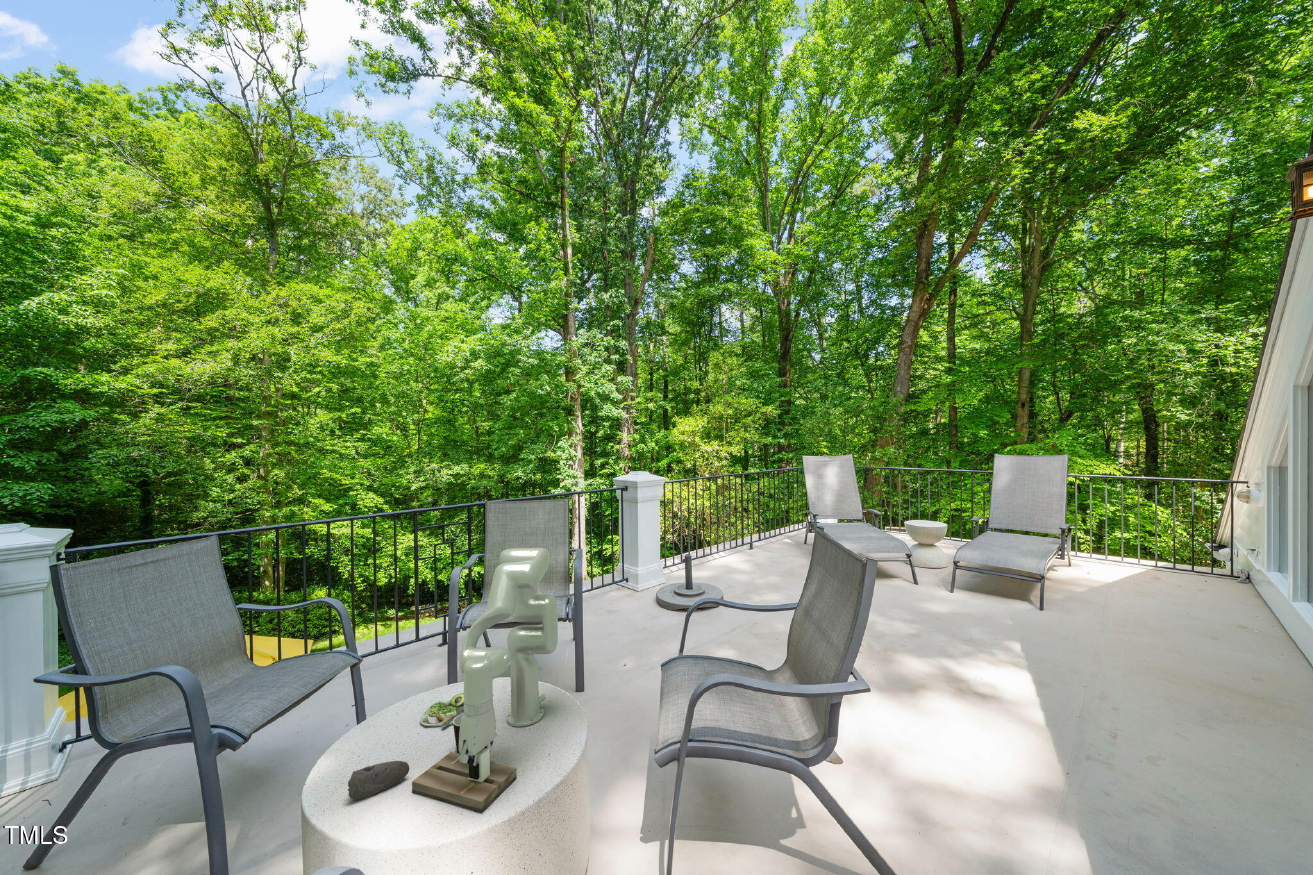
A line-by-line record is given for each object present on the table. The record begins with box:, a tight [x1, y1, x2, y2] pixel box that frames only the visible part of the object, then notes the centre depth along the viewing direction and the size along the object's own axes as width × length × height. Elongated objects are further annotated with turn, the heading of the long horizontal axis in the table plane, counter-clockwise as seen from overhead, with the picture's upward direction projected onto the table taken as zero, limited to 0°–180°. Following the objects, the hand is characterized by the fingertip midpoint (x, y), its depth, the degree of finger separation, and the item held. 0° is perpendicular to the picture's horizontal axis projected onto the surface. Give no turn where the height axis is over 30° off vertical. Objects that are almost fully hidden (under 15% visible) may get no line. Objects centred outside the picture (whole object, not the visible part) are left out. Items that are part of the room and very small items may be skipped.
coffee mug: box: [452, 713, 464, 754], centre depth 148 cm, size 12×9×10 cm
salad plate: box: [419, 692, 464, 728], centre depth 168 cm, size 19×18×5 cm
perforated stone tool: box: [347, 760, 410, 801], centre depth 131 cm, size 15×5×7 cm, turn 125°
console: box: [411, 751, 517, 814], centre depth 131 cm, size 14×24×3 cm, turn 69°
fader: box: [468, 748, 491, 782], centre depth 130 cm, size 3×4×9 cm
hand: (479, 772), depth 130 cm, fingers closed on fader, 3 cm apart
